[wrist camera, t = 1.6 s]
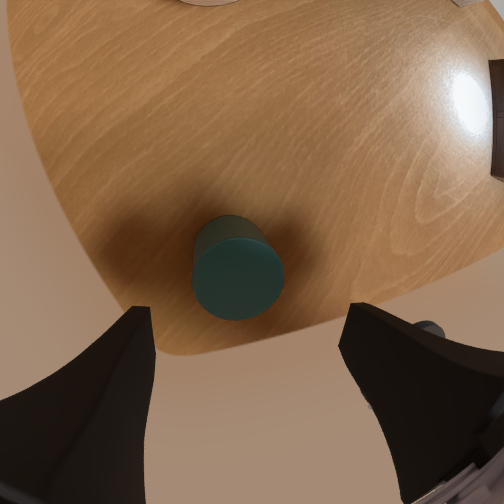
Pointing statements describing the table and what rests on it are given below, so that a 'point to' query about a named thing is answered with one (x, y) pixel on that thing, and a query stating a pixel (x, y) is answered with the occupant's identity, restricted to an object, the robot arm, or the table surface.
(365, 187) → the table surface
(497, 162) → the grid
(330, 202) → the table surface
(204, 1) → the candle
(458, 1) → the syrup box
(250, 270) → the teal cylinder
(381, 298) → the table surface
